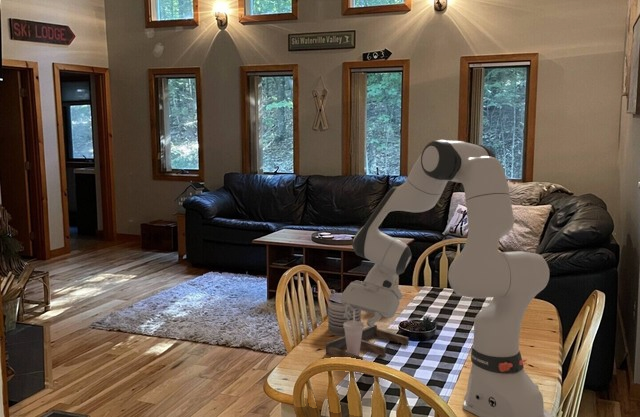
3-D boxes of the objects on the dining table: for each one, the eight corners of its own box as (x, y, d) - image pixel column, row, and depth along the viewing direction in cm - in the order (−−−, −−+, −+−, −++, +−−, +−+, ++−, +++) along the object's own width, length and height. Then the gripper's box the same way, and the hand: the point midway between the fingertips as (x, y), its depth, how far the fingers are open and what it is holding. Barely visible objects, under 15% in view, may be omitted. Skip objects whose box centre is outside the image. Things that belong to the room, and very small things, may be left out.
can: (338, 322, 214) (338, 290, 213) (366, 328, 208) (367, 295, 207) (321, 332, 205) (321, 298, 203) (350, 338, 199) (350, 303, 197)
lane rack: (408, 344, 193) (408, 334, 192) (360, 366, 175) (360, 355, 175) (374, 334, 202) (374, 324, 202) (325, 354, 185) (325, 343, 185)
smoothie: (346, 358, 181) (347, 314, 179) (340, 351, 187) (340, 308, 185) (366, 356, 183) (367, 312, 181) (359, 349, 189) (360, 306, 187)
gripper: (348, 274, 196) (328, 309, 190) (398, 285, 182) (378, 324, 176) (357, 284, 200) (337, 319, 194) (407, 296, 186) (387, 335, 180)
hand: (357, 322), depth 185 cm, fingers open, 8 cm apart
